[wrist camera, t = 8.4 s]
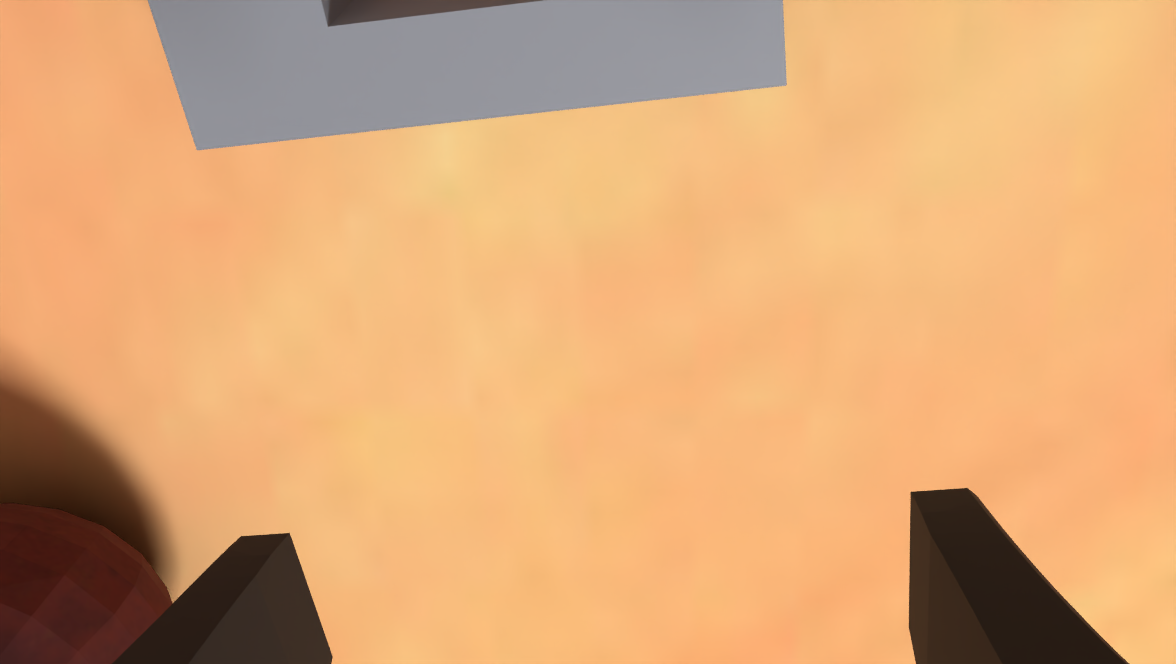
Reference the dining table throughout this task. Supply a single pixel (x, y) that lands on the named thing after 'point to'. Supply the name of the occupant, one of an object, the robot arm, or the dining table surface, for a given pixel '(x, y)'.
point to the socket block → (449, 59)
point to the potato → (70, 589)
